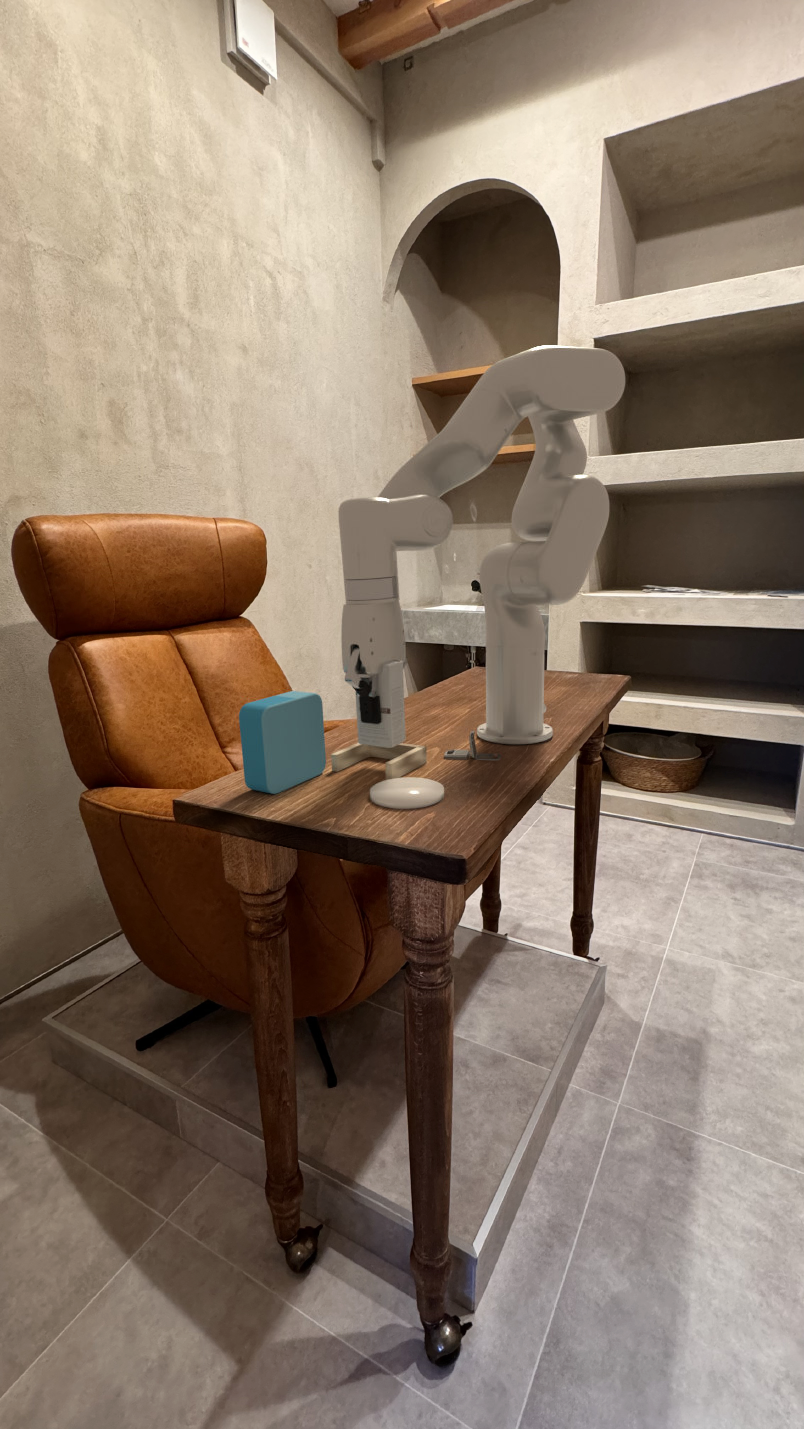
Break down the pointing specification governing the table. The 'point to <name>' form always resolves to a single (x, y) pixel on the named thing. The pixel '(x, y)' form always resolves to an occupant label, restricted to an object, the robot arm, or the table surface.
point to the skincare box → (386, 709)
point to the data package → (282, 741)
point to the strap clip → (466, 753)
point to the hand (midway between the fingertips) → (381, 717)
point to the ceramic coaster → (407, 793)
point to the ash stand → (401, 755)
